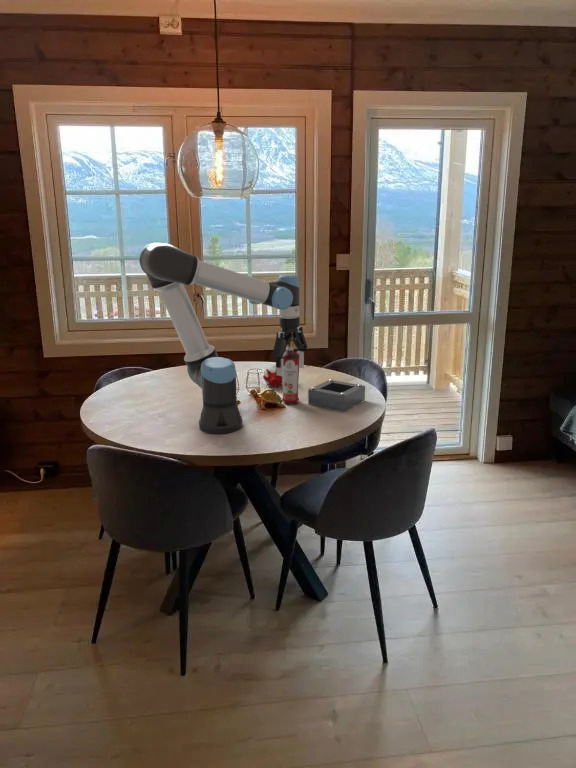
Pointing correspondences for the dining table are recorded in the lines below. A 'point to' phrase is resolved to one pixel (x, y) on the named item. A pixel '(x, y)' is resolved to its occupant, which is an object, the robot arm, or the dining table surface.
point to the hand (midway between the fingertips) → (290, 371)
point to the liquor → (290, 374)
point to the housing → (336, 395)
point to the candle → (272, 376)
